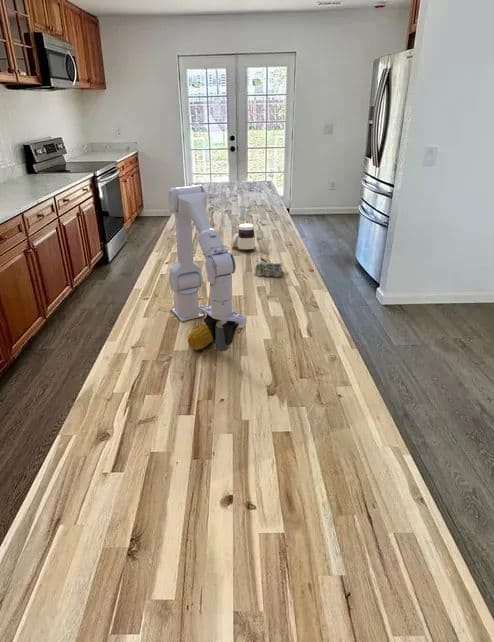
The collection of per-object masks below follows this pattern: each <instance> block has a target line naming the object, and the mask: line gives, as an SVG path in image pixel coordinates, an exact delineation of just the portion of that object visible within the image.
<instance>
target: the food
mask: <svg viewBox="0 0 494 642" xmlns="http://www.w3.org/2000/svg"><path fill="white" fill-rule="evenodd" d="M225 321H226V320H225ZM212 342H214V341H213V338H212V335H211V333H210V330H209V328H208V326H207V325H206V323H205V322H204V323H203V324H201V325H200V326H198V327H197V328H195V329H193V330H192V331H191V332H190V333H189V335H188V338H187V343H188V346H189V348H190V349H192V350H194V351H198V350H202V349H204V348H206V347H207V346H208V345H209V344H211V343H212Z"/></svg>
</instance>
